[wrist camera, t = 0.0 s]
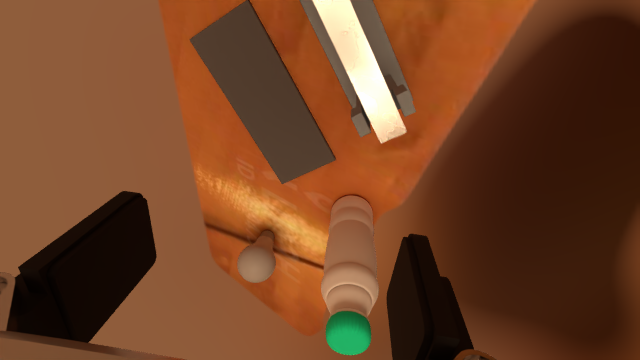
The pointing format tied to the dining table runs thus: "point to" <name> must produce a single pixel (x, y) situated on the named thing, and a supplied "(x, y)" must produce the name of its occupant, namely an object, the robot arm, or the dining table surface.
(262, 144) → the mat
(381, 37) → the rack
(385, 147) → the dining table surface
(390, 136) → the rail
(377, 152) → the dining table surface
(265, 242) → the lightbulb
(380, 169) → the dining table surface
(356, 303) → the water bottle
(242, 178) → the dining table surface
